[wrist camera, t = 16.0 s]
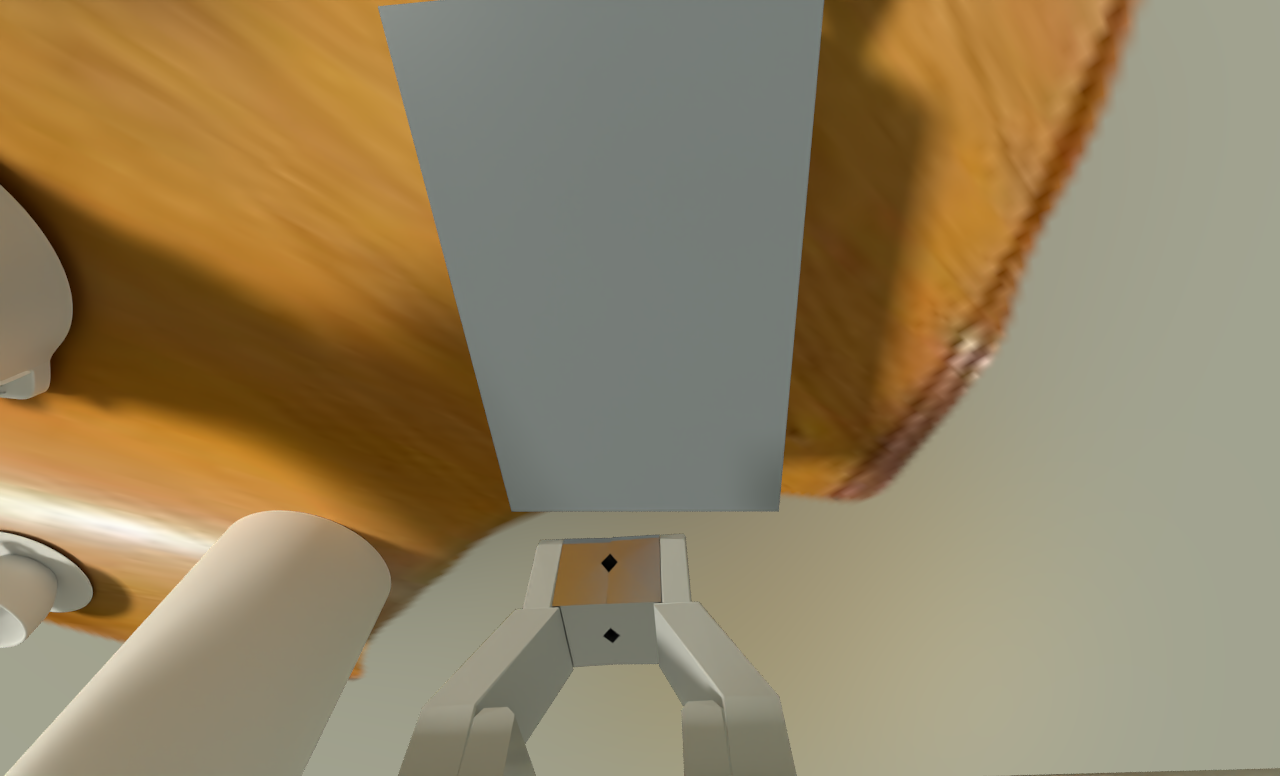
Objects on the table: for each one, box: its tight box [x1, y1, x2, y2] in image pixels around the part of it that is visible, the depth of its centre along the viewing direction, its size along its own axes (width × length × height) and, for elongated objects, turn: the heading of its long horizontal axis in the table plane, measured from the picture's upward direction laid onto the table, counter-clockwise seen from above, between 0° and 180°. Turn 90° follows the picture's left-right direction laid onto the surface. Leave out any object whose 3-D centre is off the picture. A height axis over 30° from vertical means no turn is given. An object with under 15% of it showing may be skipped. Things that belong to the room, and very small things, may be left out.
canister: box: [4, 510, 391, 776], centre depth 35 cm, size 14×14×20 cm
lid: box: [378, 0, 824, 512], centre depth 22 cm, size 14×22×1 cm, turn 4°
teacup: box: [0, 532, 93, 648], centre depth 42 cm, size 10×10×5 cm
